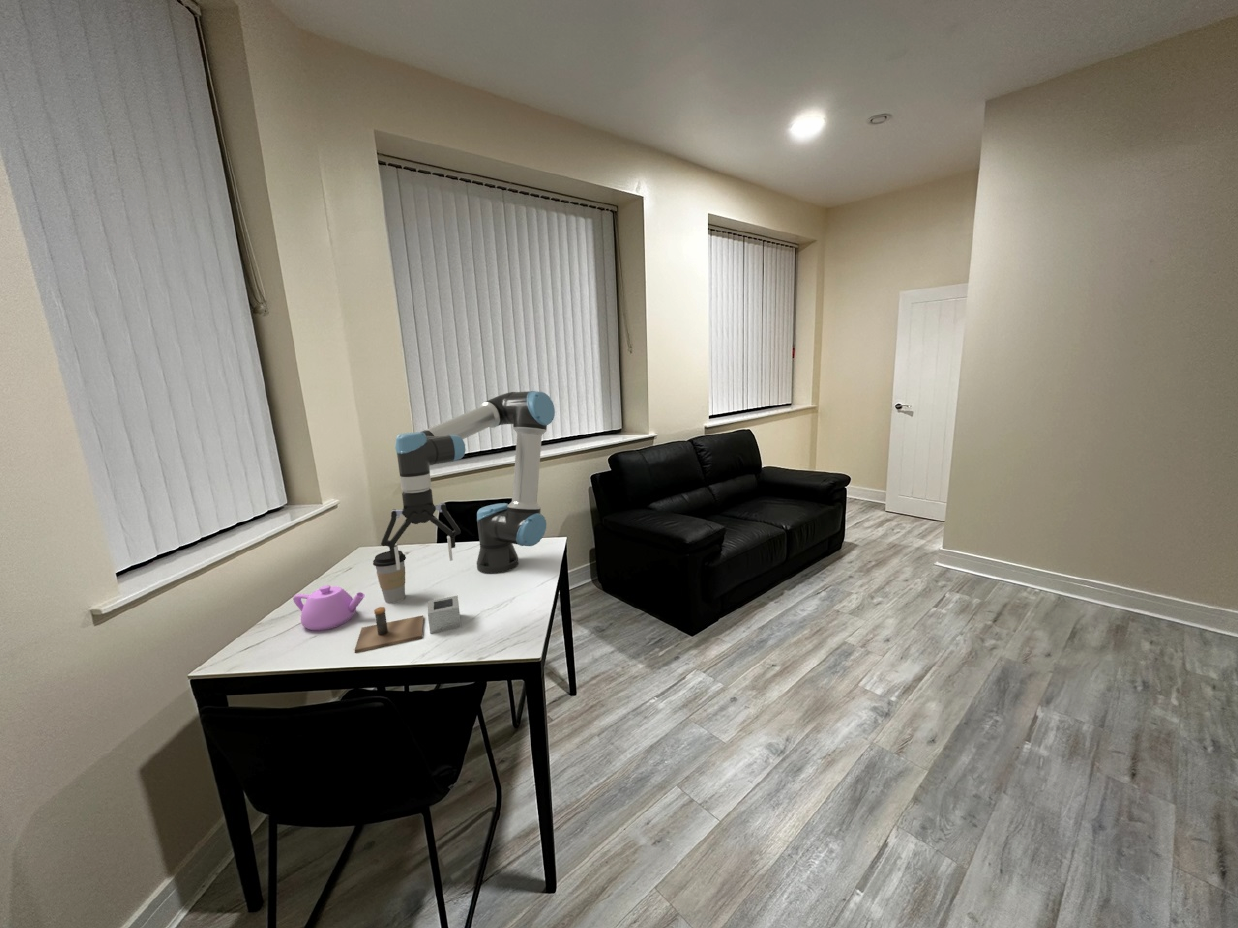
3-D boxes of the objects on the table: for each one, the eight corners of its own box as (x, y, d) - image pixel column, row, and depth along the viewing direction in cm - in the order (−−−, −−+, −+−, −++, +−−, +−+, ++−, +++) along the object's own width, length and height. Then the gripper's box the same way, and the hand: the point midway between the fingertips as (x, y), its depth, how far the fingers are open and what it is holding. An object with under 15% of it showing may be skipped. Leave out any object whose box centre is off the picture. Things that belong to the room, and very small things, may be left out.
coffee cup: (398, 606, 142) (391, 561, 139) (371, 605, 144) (364, 559, 141) (417, 593, 151) (411, 549, 148) (392, 591, 153) (386, 548, 150)
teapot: (355, 630, 129) (350, 595, 127) (282, 634, 128) (276, 599, 126) (378, 606, 143) (374, 574, 141) (312, 610, 142) (307, 578, 140)
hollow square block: (459, 614, 136) (457, 595, 135) (460, 627, 128) (458, 607, 127) (430, 620, 133) (428, 600, 132) (430, 633, 126) (427, 613, 124)
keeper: (423, 617, 135) (420, 592, 133) (422, 638, 123) (418, 611, 122) (362, 630, 129) (358, 604, 128) (354, 652, 118) (350, 624, 116)
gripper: (463, 481, 133) (470, 551, 137) (366, 492, 123) (376, 567, 127) (466, 486, 126) (473, 559, 130) (363, 498, 117) (374, 577, 120)
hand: (425, 563), depth 129 cm, fingers open, 13 cm apart
